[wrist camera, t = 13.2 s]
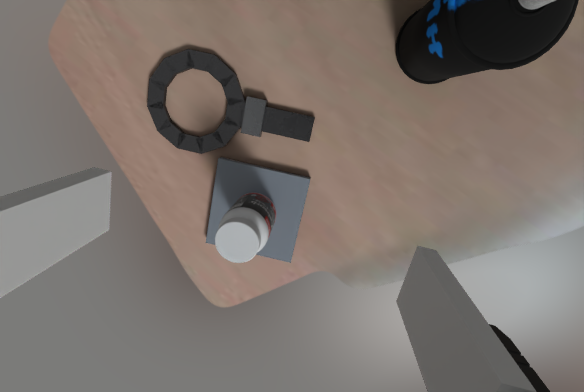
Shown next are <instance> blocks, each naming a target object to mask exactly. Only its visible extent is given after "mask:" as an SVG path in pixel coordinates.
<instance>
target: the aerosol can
mask: <svg viewBox="0 0 584 392" xmlns="http://www.w3.org/2000/svg"><path fill="white" fill-rule="evenodd" d="M577 5H578V0H430V1H429V2H428V3H427V4H426V5H425V6H424V7H423V8H422V9H420V10H418V11H416V12H415V13H414V14H412V15H411V16H410V17H409V18H408V19H407V21H406V22H405V23H404V25H403V26H402V28H401V30H400V32H399V35H398V38H397V43H396V55H397V60H398V63H399V65H400V67H401V69H402V70H403V72H404V73H405V74H406V75H407V76H408V77H409V78H411V79H412V80H414V81H416V82H419V83H424V84H435V83H439V82H442V81H445V80H447V79H449V78H452V77H457V76H461V75H466V74H471V73H475V72H480V71H485V70H489V69H496V70H504V69H513V68H516V67H520V66H523V65H526V64H528V63H530V62H532V61H534V60H536V59H537V58H539V57H540V56H542V55H543V54H544V53H546V52H547V51H549V50H550V49H551V48H552V47H553V46H554V45H555V44H556V43H557V42H558V41H559V39H560V38H561V37H562V35H563V34H564V33H565V31H566V30H567V28H568V26H569V24H570V23H571V21H572V19H573V17H574V14H575V11H576V8H577Z"/></svg>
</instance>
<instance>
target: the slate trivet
mask: <svg viewBox="0 0 584 392" xmlns="http://www.w3.org/2000/svg"><path fill="white" fill-rule="evenodd" d="M309 183H310V177H306V176H301V175H297V174H293V173H288V172H284V171H279V170H275V169H271V168H266V167H262V166H258V165H253V164H249V163H244V162H240V161H236V160H231V159H227V158H223V157H220V158H218V164H217V171H216V178H215V185H214V191H213V198H212V205H211V211H210V218H209V225H208V231H207V238H206V243H209V244H214V245H215V236H216V233H217V231H218V229H219V224H220V221H221V219H222V218H223V216H224V215H225V214H226V213H227V211H228V210H229V209H230V208H231V207H232V206H233V205H234V204H235V202H236V201H237V200H238V199H239V198H240V197H242V196H243V195H245V194H248V193H260V194H263V195H265V196H266V197H268V198H269V199H270V200H271V201H272V202H273V204H274V206H275V209H276V220H275V223H274V226H273V228H272V231H271V233H270V236H269V238H268V240H267V243H266V244H265V246H264V247H263V248H262V249H261V250H260V251H259V252H257V253H256V255H260V256H265V257H269V258H273V259H277V260H282V261H286V262H290V263H291V259H292V255H293V250H294V246H295V242H296V238H297V233H298V229H299V225H300V221H301V217H302V212H303V208H304V204H305V200H306V195H307V191H308V187H309Z"/></svg>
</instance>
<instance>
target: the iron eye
mask: <svg viewBox="0 0 584 392" xmlns="http://www.w3.org/2000/svg"><path fill="white" fill-rule="evenodd" d="M192 68H193V69H198V70H202V71H207V72H209V73H210V74H211V75H212V76H213V77H214V78H215V79H216V80H218V81H219V82H220V83H221V84H222V87H223V90H224V92H225V95H226V98H227V101H228V104H227V110H226V117H225V120H224V121H223V123H222V124H221V125H220V126H219V128H218V129H217V130H216V131H215V132H214V133H211V134H208V135H205V136H202V137H199V136H195V135H190V134H186V133H184V132H183V131H182V130H181V129H179V128H178V127H177V126H176V125H175V124H174V123H173V122H172V121H171V118H170V116H169V113H168V111H167V108H166V106H165V103H166V92H167V87H168V86H169V84H170V83H171V82H172V80H173V79H174V77H175V76H176V75H177V74H179V73H181V72H184V71H187V70H189V69H192ZM267 102H268V101H266V100H262V99H257V98H253V97H248V96H247V99H246V102H245V98H244V95H243V92H242V89H241V86H240V83H239V80H238V78H237V75H236V74H235V73H234V72H233V71H232V70H231V69H230V68H229V67H228V66H227V65H226V64H225V63H224V62H222V61H221V60H220V59H219V58H218V57H217V56H216V55H213V54H208V53H204V52H199V51H195V50H190V49H187V50H185V51H182V52H179V53H177V54H174V55H172V56H169V57H166V58H164V59H163V61H162V62H161V64H160V65H159V67H158V68H157V69H156V71H155V72H154V74H153V75H152V77H151V78H150V79H149V91H148V103H147V107H148V109H149V112H150V114H151V116H152V119H153V121H154V124H155V126H156V128H157V131H158V132H159V133H160V134H162V135H163V136H164V137H165V138H166V139H167V140H168V141H170V142H171V143H172V144H173V145H174V146H175V147H177V148H179V149H183V150H188V151H192V152H196V153H201V154H202V153H205V152H208V151H211V150H214V149H217V148H220V147H223V146H226V144H227V143H228V142H229V141H230V140H231V138H232V137H233V136H234V135H235V134H236V132H237V131H238V130H239V129H240V128H241V127H242V129H241V133H245V134H249V135H253V136H258V137H261V134H262V131H263V132H268V133H272V134H276V135H281V136H285V137H290V138H294V139H299V140H303V141H307V142H309V141H310V136H311V132H312V127H313V123H314V119H315V117H311V116H306V115H302V114H297V113H293V112H289V111H284V110H280V109H275V108H271V107H267Z"/></svg>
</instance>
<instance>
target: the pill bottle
mask: <svg viewBox="0 0 584 392" xmlns="http://www.w3.org/2000/svg"><path fill="white" fill-rule="evenodd" d="M275 220H276V209H275V206H274V204H273V202H272V201H271V200H270V199H269V198H268V197H266V196H265V195H263V194H260V193H248V194H245V195H243V196H242V197H240V198H239V199H238V200H237V201H236V202H235V204H234V205H233V206H232V207H231V208H230V209H229V210H228V211H227V213H226V214H225V215H224V216H223V218H222V219H221V221H220V224H219V229H218V231H217V233H216V236H215V245H216V248H217V250H218V252H219V253H220V254H221V255H222V256H223V257H224V258H225V259H227V260H229V261H231V262H235V263H243V262H247V261H249V260H251V259H252V258H253V257H254V256H255V255H256V253H257V252H259V251H260V250H261V249H262V248H263V247H264V246H265V244H266V243H267V240H268V238H269V236H270V233H271V231H272V228H273V226H274V223H275Z"/></svg>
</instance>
